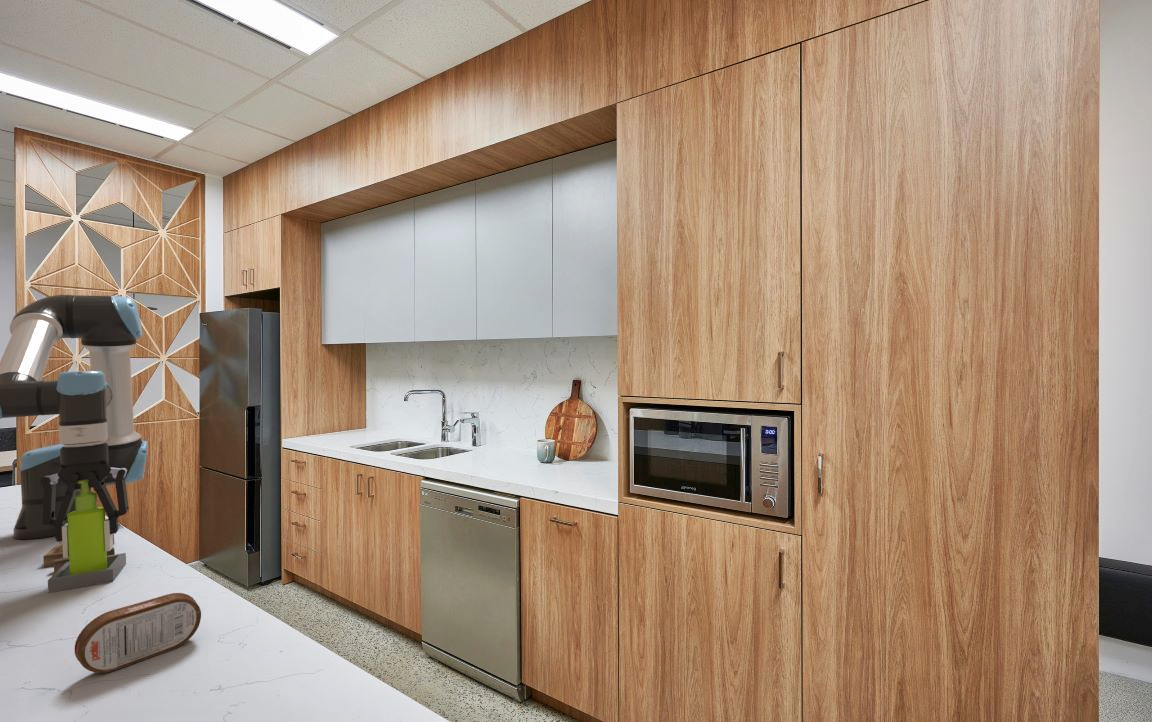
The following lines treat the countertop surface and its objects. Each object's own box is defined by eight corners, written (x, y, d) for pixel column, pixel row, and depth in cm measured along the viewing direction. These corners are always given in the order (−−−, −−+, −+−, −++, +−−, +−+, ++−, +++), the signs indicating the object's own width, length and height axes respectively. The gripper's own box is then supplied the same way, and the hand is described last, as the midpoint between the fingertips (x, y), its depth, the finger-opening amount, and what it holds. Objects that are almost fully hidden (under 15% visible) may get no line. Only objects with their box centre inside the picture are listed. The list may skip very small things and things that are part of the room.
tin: (198, 634, 89) (196, 583, 89) (204, 640, 87) (202, 588, 87) (75, 678, 77) (72, 620, 77) (79, 686, 75) (76, 626, 75)
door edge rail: (53, 571, 118) (53, 560, 118) (113, 557, 125) (113, 547, 125) (54, 573, 117) (54, 562, 117) (114, 560, 124) (114, 549, 124)
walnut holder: (61, 552, 130) (60, 541, 130) (114, 544, 135) (113, 534, 135) (43, 567, 121) (43, 556, 121) (101, 558, 126) (101, 547, 125)
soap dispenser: (119, 565, 118) (115, 474, 117) (87, 578, 111) (83, 482, 110) (94, 564, 118) (91, 474, 118) (61, 578, 111) (57, 482, 111)
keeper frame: (67, 573, 117) (66, 562, 117) (126, 563, 121) (125, 552, 121) (48, 592, 107) (47, 580, 107) (113, 581, 112) (112, 569, 112)
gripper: (14, 451, 106) (19, 568, 106) (137, 441, 115) (141, 548, 115) (30, 446, 112) (34, 556, 113) (144, 437, 122) (148, 538, 122)
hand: (88, 552), depth 114 cm, fingers open, 6 cm apart
